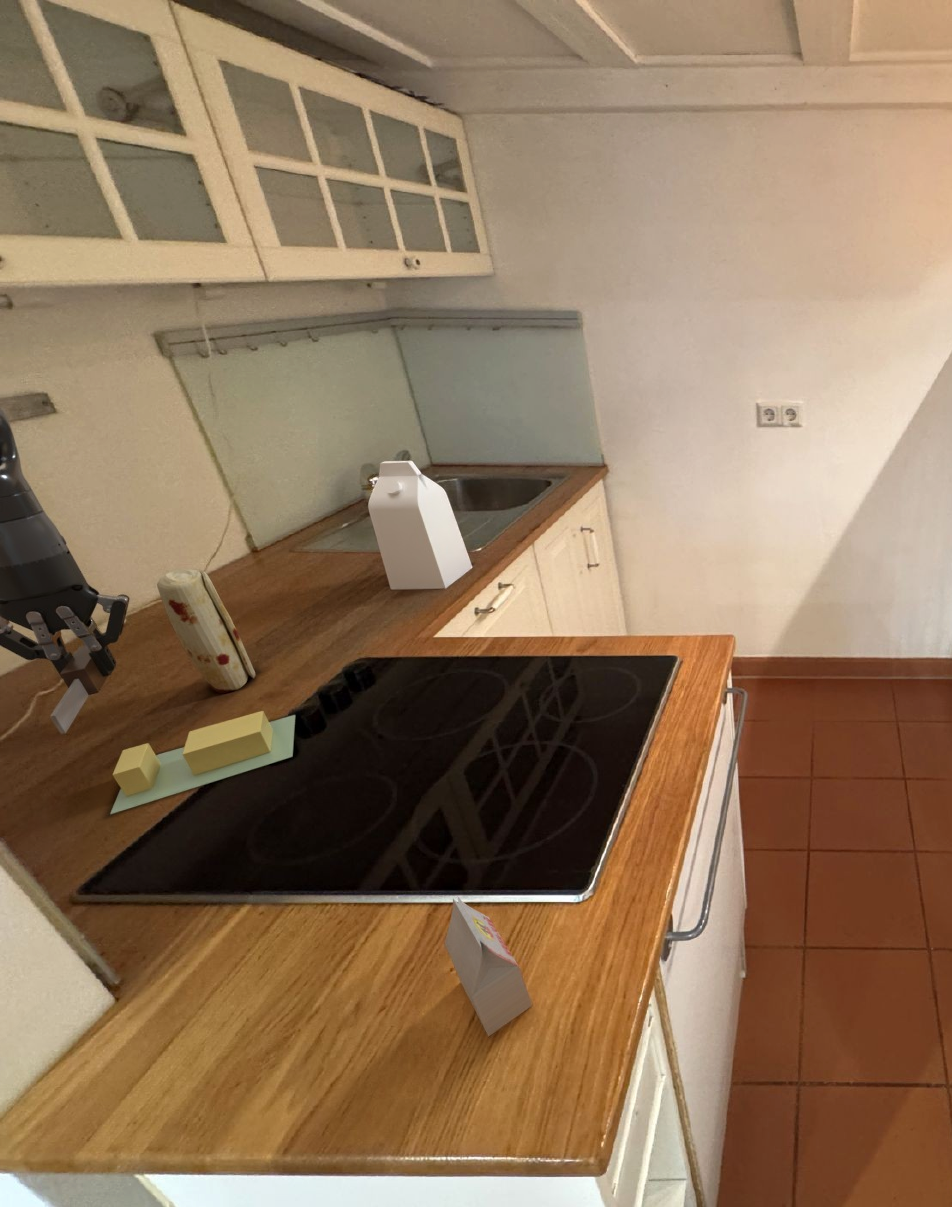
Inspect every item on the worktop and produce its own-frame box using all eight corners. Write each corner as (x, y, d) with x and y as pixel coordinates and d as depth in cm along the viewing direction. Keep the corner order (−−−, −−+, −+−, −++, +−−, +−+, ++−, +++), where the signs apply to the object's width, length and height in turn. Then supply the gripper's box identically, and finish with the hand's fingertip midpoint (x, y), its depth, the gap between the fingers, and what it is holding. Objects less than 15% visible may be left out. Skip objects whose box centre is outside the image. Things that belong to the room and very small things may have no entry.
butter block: (194, 775, 85) (181, 754, 84) (200, 752, 90) (188, 731, 88) (270, 752, 89) (260, 731, 88) (273, 730, 94) (263, 710, 92)
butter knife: (49, 737, 75) (32, 711, 73) (93, 669, 89) (79, 646, 87) (76, 730, 76) (60, 704, 74) (115, 664, 90) (102, 641, 88)
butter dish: (113, 820, 80) (109, 814, 79) (135, 768, 89) (131, 762, 88) (295, 762, 89) (292, 756, 88) (297, 720, 98) (295, 714, 97)
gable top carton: (490, 1042, 55) (458, 963, 50) (463, 988, 59) (430, 910, 55) (534, 1011, 57) (506, 932, 52) (504, 961, 61) (476, 884, 57)
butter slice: (126, 796, 82) (112, 774, 80) (135, 771, 86) (122, 749, 85) (152, 788, 83) (139, 766, 82) (161, 763, 88) (148, 742, 86)
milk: (472, 567, 151) (440, 454, 139) (445, 588, 140) (408, 468, 129) (421, 568, 151) (384, 456, 139) (390, 589, 141) (348, 469, 129)
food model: (206, 680, 109) (148, 569, 100) (257, 666, 113) (205, 557, 104) (208, 705, 102) (146, 588, 93) (262, 688, 106) (207, 575, 97)
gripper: (-82, 577, 72) (7, 708, 80) (93, 549, 79) (159, 672, 87) (-53, 557, 78) (27, 681, 85) (108, 533, 85) (169, 649, 92)
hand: (93, 676), depth 86 cm, fingers closed on butter knife, 2 cm apart
